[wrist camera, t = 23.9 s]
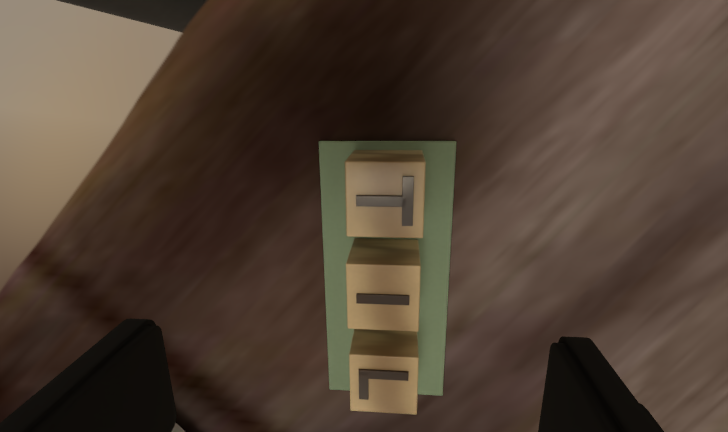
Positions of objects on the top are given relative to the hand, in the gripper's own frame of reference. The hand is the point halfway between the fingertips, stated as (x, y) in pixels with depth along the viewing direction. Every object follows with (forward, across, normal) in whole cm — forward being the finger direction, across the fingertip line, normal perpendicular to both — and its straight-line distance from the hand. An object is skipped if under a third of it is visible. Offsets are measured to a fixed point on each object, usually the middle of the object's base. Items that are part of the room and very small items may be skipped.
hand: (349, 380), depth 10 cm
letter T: (+22, 0, 0) cm, 22 cm away
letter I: (+22, 0, +7) cm, 23 cm away
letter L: (+22, 0, +14) cm, 26 cm away
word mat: (+22, 0, +8) cm, 24 cm away
